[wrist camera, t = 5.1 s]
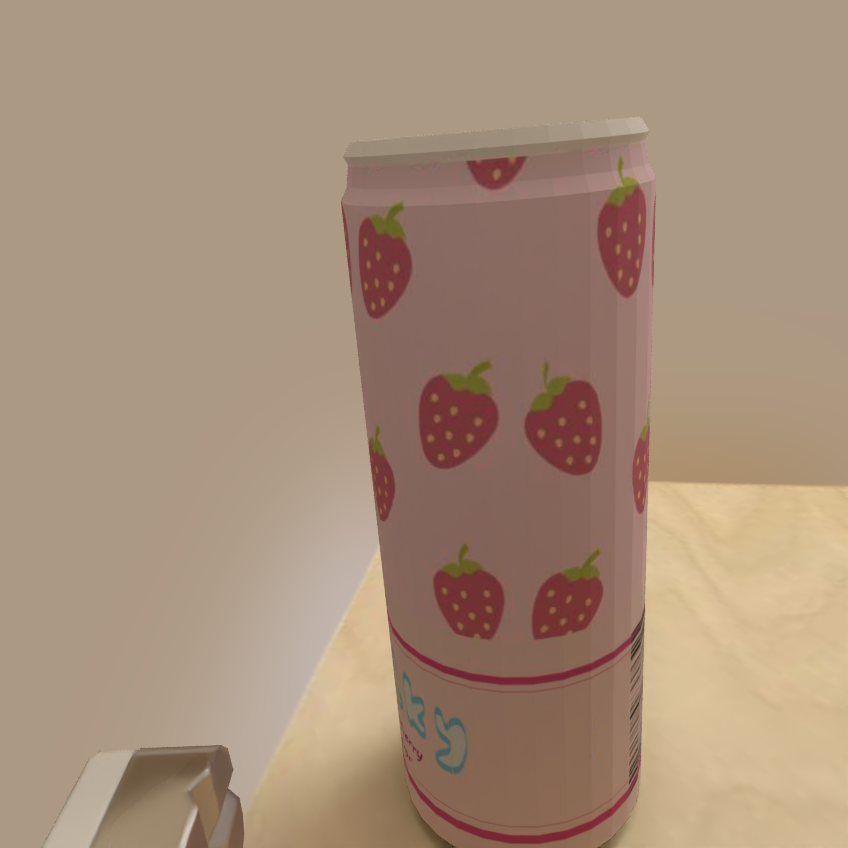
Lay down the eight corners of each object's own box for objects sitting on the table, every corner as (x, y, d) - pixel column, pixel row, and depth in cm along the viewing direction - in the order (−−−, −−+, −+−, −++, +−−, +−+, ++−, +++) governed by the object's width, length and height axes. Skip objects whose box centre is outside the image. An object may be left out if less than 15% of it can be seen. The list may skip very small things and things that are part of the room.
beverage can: (378, 733, 20) (300, 145, 15) (562, 671, 22) (553, 124, 17) (461, 921, 15) (390, 139, 10) (691, 821, 17) (737, 108, 12)
